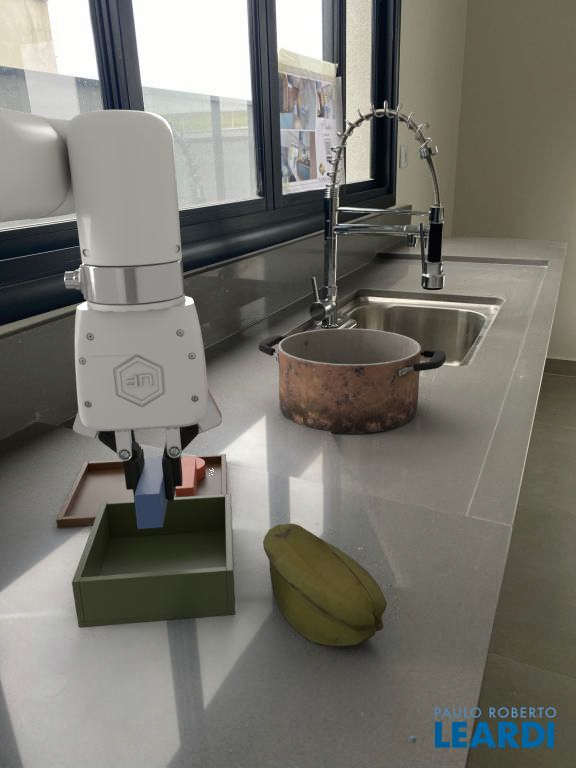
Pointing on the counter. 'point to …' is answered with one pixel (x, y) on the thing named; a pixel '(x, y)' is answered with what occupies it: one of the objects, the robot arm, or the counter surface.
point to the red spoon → (190, 476)
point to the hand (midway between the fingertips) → (155, 492)
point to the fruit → (322, 588)
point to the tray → (123, 488)
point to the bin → (157, 564)
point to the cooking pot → (349, 378)
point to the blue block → (151, 495)
